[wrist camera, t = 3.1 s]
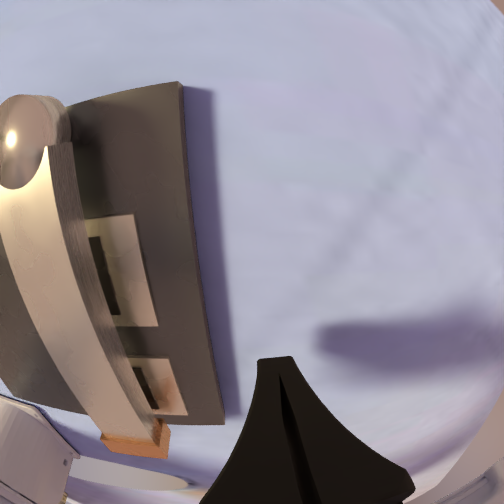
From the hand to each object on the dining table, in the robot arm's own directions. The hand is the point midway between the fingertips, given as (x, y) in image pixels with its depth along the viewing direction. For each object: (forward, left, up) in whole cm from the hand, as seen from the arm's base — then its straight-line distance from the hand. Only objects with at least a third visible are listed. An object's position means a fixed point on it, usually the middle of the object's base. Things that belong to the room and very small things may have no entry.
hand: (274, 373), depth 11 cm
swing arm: (+3, +8, -1) cm, 8 cm away
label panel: (+2, +12, -3) cm, 12 cm away
